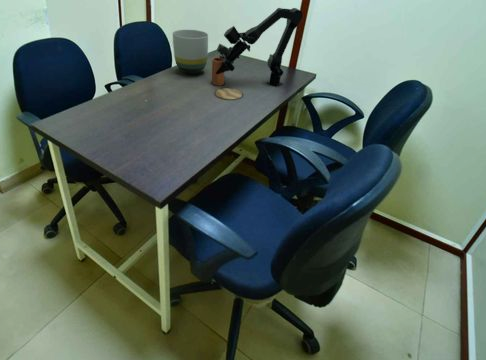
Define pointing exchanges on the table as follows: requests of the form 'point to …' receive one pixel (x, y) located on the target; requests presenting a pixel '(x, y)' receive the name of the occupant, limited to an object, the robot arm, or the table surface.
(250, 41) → the robot arm
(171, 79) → the table surface
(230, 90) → the beige flat disc
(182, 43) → the planter
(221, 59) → the terracotta pot
